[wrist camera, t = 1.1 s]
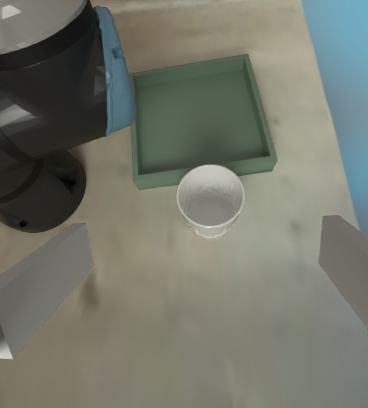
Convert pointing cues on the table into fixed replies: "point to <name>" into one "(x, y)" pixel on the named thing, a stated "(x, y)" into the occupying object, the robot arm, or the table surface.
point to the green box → (198, 121)
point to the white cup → (210, 200)
